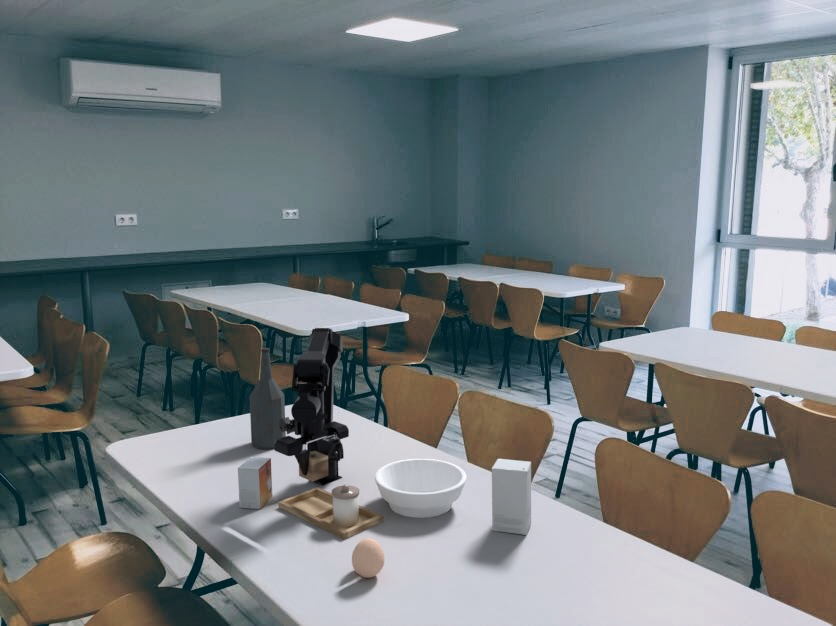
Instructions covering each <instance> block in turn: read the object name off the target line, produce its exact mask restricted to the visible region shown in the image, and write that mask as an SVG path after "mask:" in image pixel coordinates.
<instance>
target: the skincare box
mask: <svg viewBox="0 0 836 626" xmlns="http://www.w3.org/2000/svg"><path fill="white" fill-rule="evenodd" d="M491 510H492V513H491V516H492V521H491V522H492V531H493V532H498V533H499V532H501V533H509V534H515V535H524V536H526V535H527V534H528V532H529V529H530V527H531V525H532V461H525V460H515V459H508V458H507V459H505V458H497V459H496V461H495V463H494V464H493V465H492V467H491Z"/></svg>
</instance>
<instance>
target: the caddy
mask: <svg viewBox="0 0 836 626" xmlns="http://www.w3.org/2000/svg"><path fill="white" fill-rule="evenodd" d="M278 508H279V509H281V510H283V511H284V512H287V513H289V514H291V515H294V516H295V517H298V518H300V519H301V520H304V521H305V522H307V523H309V524H311V525H314V526H316V527H317V528H318V527H319V528H320V529H323V530H324V531H327V532H328V533H331V534H333V535H335V536H337V537H339V538H341V539H342V540H347V539H348V538H351V537H353V536H355V535H358V534H359V533H362V532H363V531H366V530H369V529H370V528H373V527H375V526H377V525H378V524H380V523H382V522H384V515H383V514H380V513H378V512H375V511H374V510H371V509H369V508H366V507H364V506H362V505H360V504H359V522H358V524H357V525H355V526H352V527H338V526H336V525H334V524H333V496H332V492H329V491H327V490H324V489H322V488H320V487H318V486H316V487H314V488H311V489H309V490H306V491H303V492H300V493H299V494H296V495H293V496H291V497H288V498H285V499H282V500H280V501H278Z"/></svg>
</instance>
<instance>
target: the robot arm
mask: <svg viewBox="0 0 836 626" xmlns="http://www.w3.org/2000/svg"><path fill="white" fill-rule="evenodd" d="M343 350H344V342H343V338H342V335H341V334H339V333H337V332H335V331H333V329H332V328H330V327H315V328H312V330H311V333H310V334H309V341H308V348H307V349H306V352H304V353H303V354H300V355H299V357H298V358H297V360H296V362H295V363H294V364H293V371H292V381H291V392H297V398H296V400H295V401H294V403H293V405H292V406H291V409H290V410H291V412H290V413H291V417H292V419H290V417H289V416H287V417H285V418H282V419H280V420H279V427H280V430H281V432H285V431H286V437H283V438H280V439H277V440H276V441H275V444H274V447H275V448H274V452H276V453H279V454H282V455H284V456H287V457H292V456H294V458H295V459H296V461H297V464H298V467H299V466H300V469H301V471H302V473H303V475H305V476H306V475H307V472H308V466H309V458H310V452H313V451H317V452H319V453H322V454H324V455H327V456H328V476H326V477H323V478H321V479H318V480H315V481H313V482H315V483H317V484H319V485H322V486H326V485H328V484H330V483H333V482H335V481H339V480H341V479H343V476H341V475H339V461H341V460H342V459H344V456H345V455H344V453H345V452H344V445H343V443H342V440H343V439H346V438H349V437H350V432H349V431H350V430H349V427H348V425H346V424H344V423H340V422H338V421H335V420H334V421H333V419H334V392H335V391H334V390H335V389H334V388H335V386H334V385H335V384H334V383H335V368H336V366H337V364H338V362H339V361H340V360H341V353H343ZM291 433H294V435H295V436H300V437H298V438H295V437H293V436H290V435H289V434H291Z"/></svg>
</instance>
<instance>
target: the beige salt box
mask: <svg viewBox="0 0 836 626" xmlns="http://www.w3.org/2000/svg"><path fill="white" fill-rule="evenodd" d="M326 476H328V456H327V455H324V454H322V453H319V452H317V451H313V452H310V458H309V466H308V472H307V475H306V476H305V475H303V473H302V471H301V469H300V466H299V465H298V477H301V478H303V479H306V480H308V481H310V482H311V483H312V482H314V481H315V480H318V479H321V478H323V477H326Z"/></svg>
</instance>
